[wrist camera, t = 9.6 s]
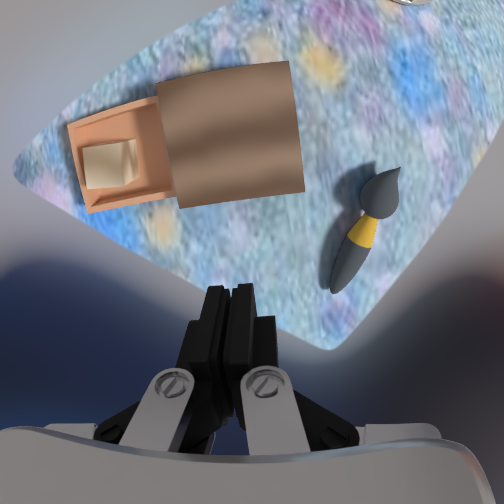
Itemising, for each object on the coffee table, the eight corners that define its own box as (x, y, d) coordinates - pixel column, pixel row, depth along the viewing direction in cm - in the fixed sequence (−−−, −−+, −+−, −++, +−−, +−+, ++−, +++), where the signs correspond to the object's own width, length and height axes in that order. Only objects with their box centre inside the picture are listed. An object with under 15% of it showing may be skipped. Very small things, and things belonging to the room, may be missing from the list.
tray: (82, 122, 34) (67, 124, 30) (170, 95, 33) (161, 93, 29) (101, 204, 39) (87, 213, 35) (187, 187, 38) (180, 195, 34)
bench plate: (171, 87, 32) (155, 83, 27) (283, 69, 31) (288, 60, 26) (190, 194, 38) (179, 208, 33) (298, 180, 37) (305, 191, 32)
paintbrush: (353, 292, 44) (361, 312, 40) (322, 287, 44) (329, 307, 39) (398, 165, 36) (415, 172, 31) (365, 154, 36) (379, 160, 31)
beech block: (119, 142, 30) (136, 138, 34) (82, 148, 30) (101, 142, 34) (123, 186, 32) (139, 177, 36) (87, 189, 32) (105, 179, 36)
